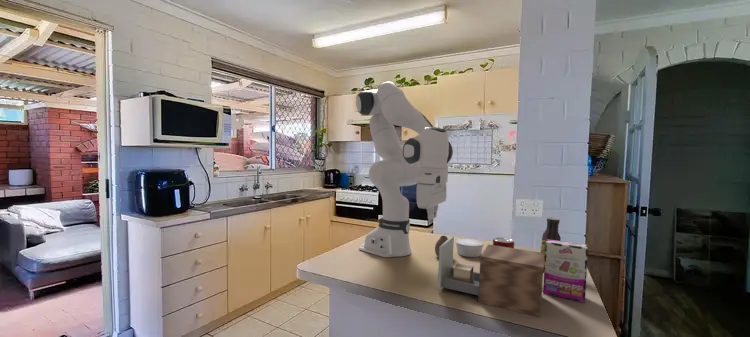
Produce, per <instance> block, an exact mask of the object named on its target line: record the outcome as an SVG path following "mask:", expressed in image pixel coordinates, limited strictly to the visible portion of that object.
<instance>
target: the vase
mask: <svg viewBox="0 0 750 337" xmlns="http://www.w3.org/2000/svg"><path fill="white" fill-rule="evenodd" d="M448 239H449V238H448V236H447V235H441V236H440V238H439V239H438V240H437V241H436V243H435V244H434V253H435V255H436V257H437V258H438V259H439V246H441V245H442V244H443V243H444V242H445V241H447V240H448Z"/></svg>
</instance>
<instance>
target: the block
mask: <svg viewBox="0 0 750 337" xmlns="http://www.w3.org/2000/svg"><path fill="white" fill-rule="evenodd" d="M453 268H454V276H453V280H457V281H462V282H467V283H472V282H473V272H474V265H473V264H467V263H460V262H457V263H456V264H455V265H454V267H453Z"/></svg>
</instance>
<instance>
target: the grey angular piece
mask: <svg viewBox="0 0 750 337" xmlns="http://www.w3.org/2000/svg"><path fill="white" fill-rule="evenodd" d="M454 238H455V237H454V236H450V237H449V238H448V240H447V241H445V242H444V243H443V244H442V245H441V246H439V258H438V270H437V271H438V273H437V289H439V290H440V289H441V288H445V289H449V290H452V291H458V292H461V293H465V294H469V295H470V294H471V295H475V296H477V297H479V276H480V272H477V271H473V282H472V283H467V282H462V281H457V280H453V276H454V267H453V265H454V263H453V262H454V246H455V245H454V241H455V239H454Z"/></svg>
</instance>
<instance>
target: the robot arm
mask: <svg viewBox="0 0 750 337" xmlns="http://www.w3.org/2000/svg"><path fill="white" fill-rule="evenodd" d="M355 98H356V99H355V107H356V110H357V111H358V113H359V114H360V115H362V116H370V115H371V116H370V119H369V129H370V135H371V138H372V142H373V145H374V148H375V151H376V153H377V155H378V156H379V157H380V158H381V159H383V160H379V161H375V162H373V163H372V164H371V165H370V167H369V170H368V177H369V180H370V182H371V184H373V185H374V186H375V187H376V188H377V189H378V191H379V193H380V196H381V199H382V217H381V218H379V219H377V220H376V221H377V222H376V223H377V224H378V226H376V227H375V228H374V229H372V230H371V231H369V232H368V233H367V234H366V236H365V239H364V243H362V244H360V245H359V246H358V247H359V248H358V250H359V251H362V252H364V253H369V254H372V255H375V256H378V257H382V258H392V257H395V258H396V257H398V258H399V257H405V256H409V255H411V253H412V249H411V244H410V237H409V236H410V235H409V234H410V228H411V226H410V225H411V224H410V218H409V217H410V216H409V215H410V202H409V201H410V200H409V199H408V198H407V197H406V196H404V195H403V194H402V192H401V190H400V189H401V188H400V187H409V186H410V187H411V186H414V185H416V205H417V207H418V208H419V209H423V210H426V213H427V219H428V220H434V219H436V218H437V217H438V216H437V215H438V211H439V210H438V209H439V206H440V204H442V203H444V202H446V201H447V193H448V192H447V183H448V177H449V174H448V173H449V165H448V164H449V162H450V161H451V159H452V158H453V153H454V150H453V146H452V143H450V141H449V140H450V139H449V134H448V131H447V130H446V129H444V128H443V127H437V126H434V125H433V124H432V123H431V122H430V120H429V119H428V118H427V117H426V116H425V114H423V113H422V112H421V111H419V110H418V109H417V108H415V106H414V105H413V104H412V103H411V101H409V100H408V98H407V97H406V94H404V92H403V90H402V89H401V88H399V87H398V85H396V84H395V83H394V82H392V81H386V82H382V83H381V84H380V85H379V86H378V87H377V89H376V88H375V89H370V90H362V91H360V92H358V94H357V95H356V97H355ZM395 126H399V127H402V128H406V129H409V130H412V131H414V132H415V133H417V135H416V136H414V137H413V136H412V137H411V138H410V137H409V138H408V139H407V140H406V141H405V142H404V144H403V145H402V143H401V141H400V138H399V136H398V133H397V129H395ZM418 208H417V209H418Z"/></svg>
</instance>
